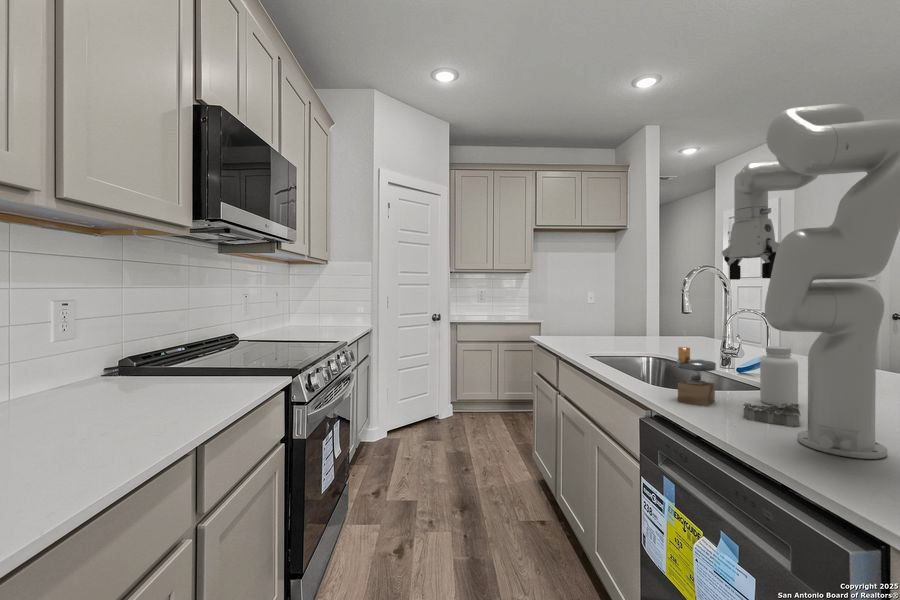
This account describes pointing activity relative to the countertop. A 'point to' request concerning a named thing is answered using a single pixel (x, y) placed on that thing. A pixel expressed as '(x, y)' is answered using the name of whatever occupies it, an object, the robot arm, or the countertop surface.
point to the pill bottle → (778, 376)
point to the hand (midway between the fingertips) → (750, 278)
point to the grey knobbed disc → (693, 363)
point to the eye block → (696, 392)
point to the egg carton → (773, 413)
